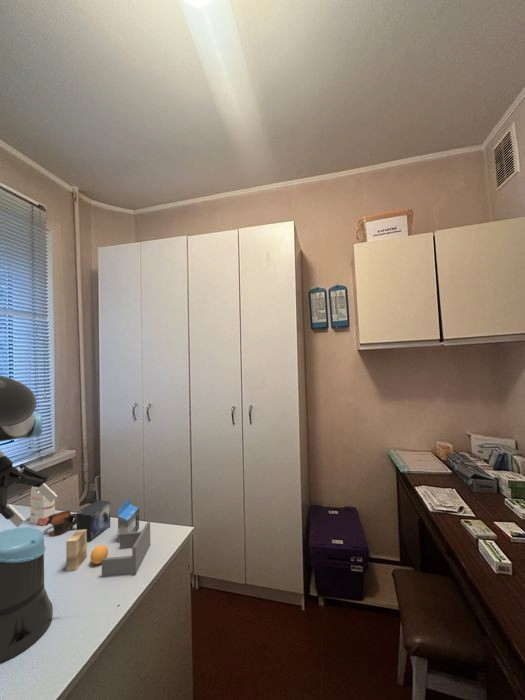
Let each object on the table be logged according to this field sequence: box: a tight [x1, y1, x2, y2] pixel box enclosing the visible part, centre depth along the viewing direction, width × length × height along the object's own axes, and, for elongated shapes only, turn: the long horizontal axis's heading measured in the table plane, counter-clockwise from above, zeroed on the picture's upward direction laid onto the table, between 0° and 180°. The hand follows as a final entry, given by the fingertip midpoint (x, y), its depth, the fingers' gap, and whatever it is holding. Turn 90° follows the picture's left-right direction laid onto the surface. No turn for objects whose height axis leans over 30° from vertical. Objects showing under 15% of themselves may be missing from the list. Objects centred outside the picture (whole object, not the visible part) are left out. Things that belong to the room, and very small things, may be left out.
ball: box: [89, 544, 109, 565], centre depth 93 cm, size 5×5×5 cm
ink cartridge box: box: [30, 486, 56, 527], centre depth 120 cm, size 9×5×15 cm, turn 70°
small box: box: [75, 499, 111, 543], centre depth 109 cm, size 11×6×10 cm, turn 168°
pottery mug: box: [45, 510, 77, 538], centre depth 113 cm, size 12×10×8 cm
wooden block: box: [65, 529, 88, 571], centre depth 92 cm, size 6×3×9 cm, turn 4°
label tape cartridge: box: [117, 497, 140, 543], centre depth 107 cm, size 9×4×12 cm, turn 178°
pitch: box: [101, 521, 151, 578], centre depth 93 cm, size 15×24×8 cm, turn 95°
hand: (39, 510), depth 92 cm, fingers open, 13 cm apart
